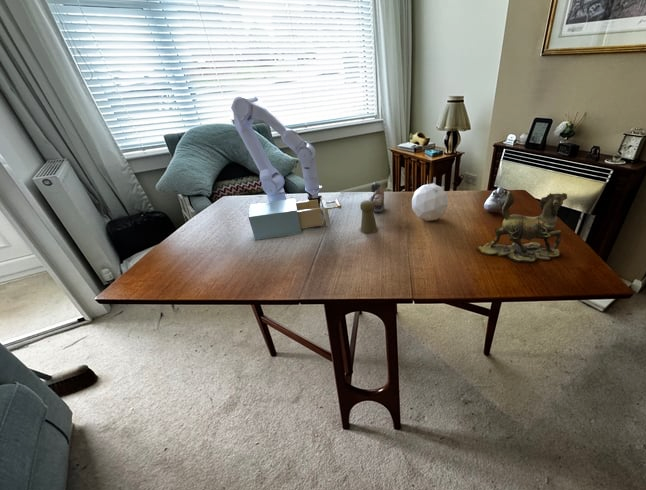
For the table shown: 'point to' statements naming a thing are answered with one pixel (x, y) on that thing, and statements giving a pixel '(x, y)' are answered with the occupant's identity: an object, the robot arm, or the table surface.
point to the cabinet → (274, 219)
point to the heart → (496, 200)
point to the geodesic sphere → (429, 202)
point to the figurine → (528, 232)
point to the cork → (368, 217)
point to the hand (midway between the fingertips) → (316, 208)
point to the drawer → (314, 212)
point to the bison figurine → (377, 197)
